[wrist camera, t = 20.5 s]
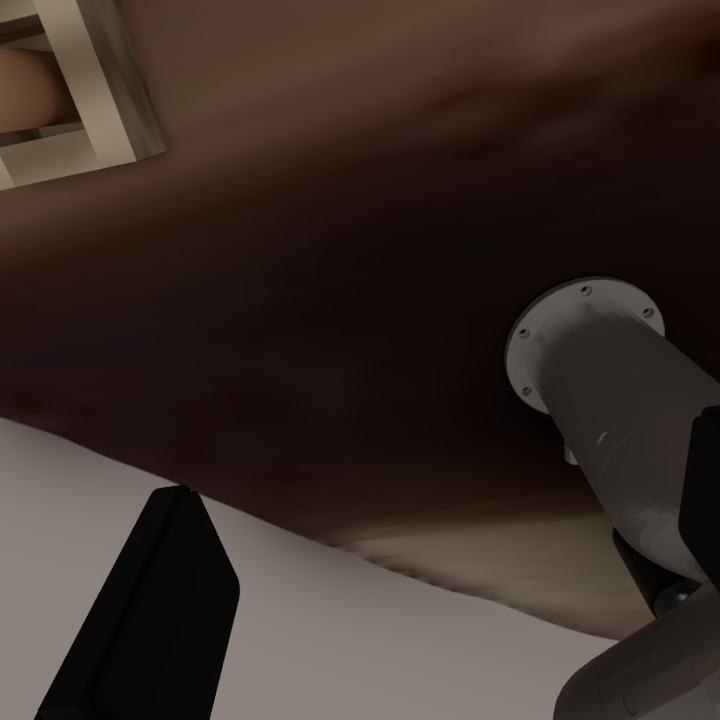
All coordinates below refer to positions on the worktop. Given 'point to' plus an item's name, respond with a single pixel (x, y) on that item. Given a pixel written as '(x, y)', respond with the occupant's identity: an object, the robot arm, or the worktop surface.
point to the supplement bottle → (655, 579)
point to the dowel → (33, 91)
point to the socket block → (80, 92)
